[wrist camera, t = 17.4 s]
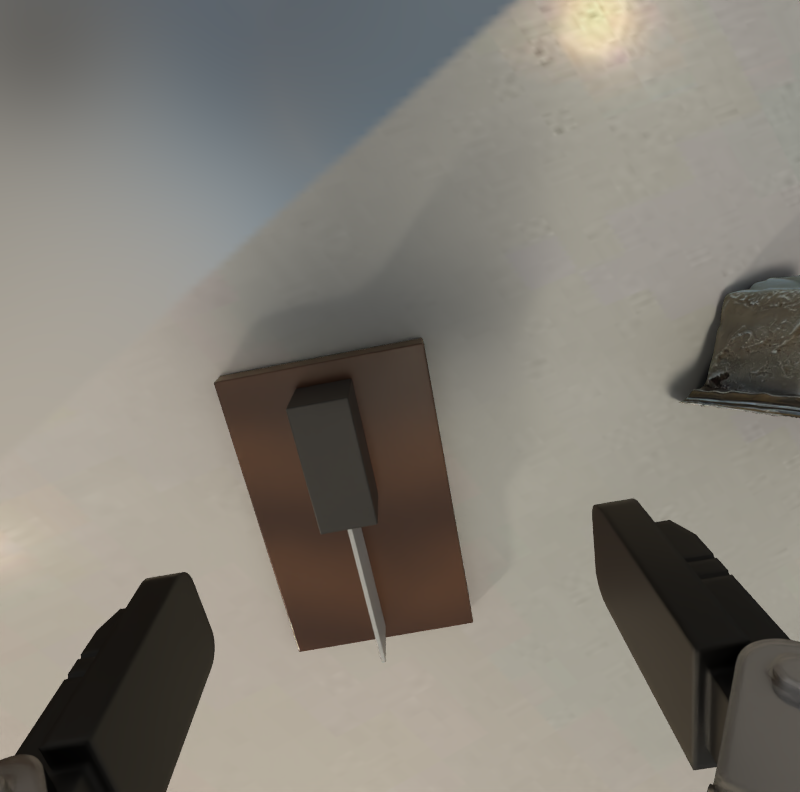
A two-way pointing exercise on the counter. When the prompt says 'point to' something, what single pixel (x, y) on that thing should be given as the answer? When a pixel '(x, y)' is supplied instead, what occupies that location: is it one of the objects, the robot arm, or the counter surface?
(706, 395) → the chocolate cake
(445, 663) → the counter surface
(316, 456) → the knife
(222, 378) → the board
